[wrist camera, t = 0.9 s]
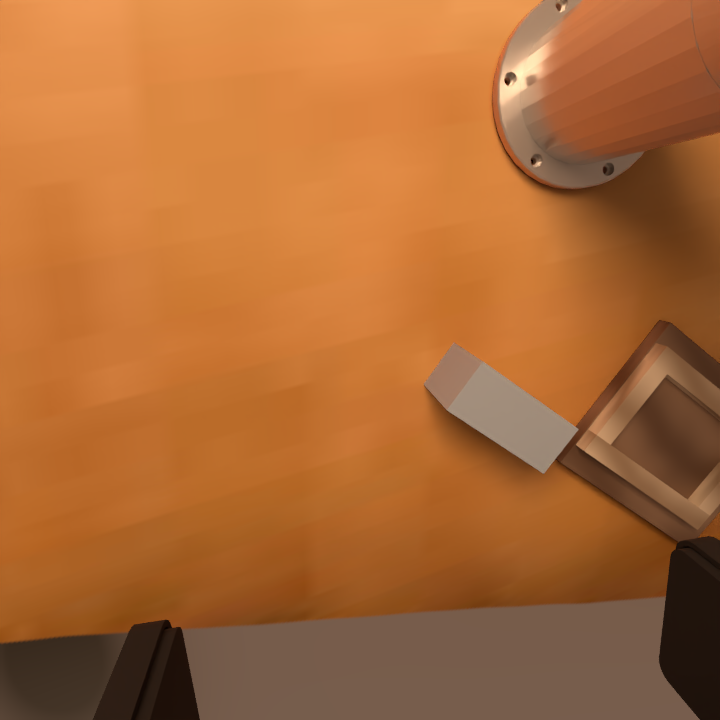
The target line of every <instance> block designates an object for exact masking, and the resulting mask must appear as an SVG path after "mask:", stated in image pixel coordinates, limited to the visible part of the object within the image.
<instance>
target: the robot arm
mask: <svg viewBox="0 0 720 720" xmlns="http://www.w3.org/2000/svg"><path fill="white" fill-rule="evenodd" d="M556 7H557V8H556ZM557 9H558V10H557ZM504 79H505V80H507V82H508V85H506V84H505V82H504ZM492 97H493V112H494V118H495V122H496V127H497V131H498V134H499V136H500V139H501V141H502V143H503V145H504V148H505V150H506V151H507V153H508V154H509V155H510V157H511V158H512V160H513V161H514V163H515V164H516V165H517V166H518V167H519V168H520V169H521V170H523V171H524V172H525V173H526V174H527V175H528V176H530V177H532V178H533V179H535V180H536V181H538V182H540V183H542V184H545V185H548V186H551V187H554V188H561V189H580V188H587V187H592V186H596V185H600V184H603V183H605V182H608V181H610V180H612V179H614V178H616V177H617V176H619V175H620V174H622V173H623V172H625V171H626V170H628V169H629V168H630V167H631V166H632V165H633V164H634V163H635V162H636V161H637V160H638V159H639V158H640V157H641V156H642V155H643V153H644V152H645V151H646V150H650V149H654V148H659V147H663V146H667V145H671V144H675V143H679V142H683V141H688V140H692V139H696V138H700V137H704V136H708V135H712V134H716V133H720V0H543V1H542V2H541V3H539V4H538V5H537V6H536V7H535V8H533V9H532V10H531V11H530V12H529V13H528V14H527V15H526V16H525V17H524V18H523V19H522V20H521V21H520V22H519V23H518V25H517V26H516V28H515V29H514V31H513V32H512V34H511V35H510V37H509V38H508V40H507V42H506V44H505V46H504V48H503V51H502V53H501V55H500V57H499V61H498V65H497V68H496V72H495V76H494V85H493V95H492ZM531 159H532V160H533V165H532V164H531ZM659 663H660V667H661V670H662V672H663V674H664V676H665V678H666V679H667V681H668V682H669V683H670V684H671V686H672V687H673V688H674V689H675V690H676V692H677V693H678V694H679V695H680V696H681V698H682V699H683V700H684V701H685V702H686V703H687V705H688V706H689V707H690V708H691V710H692V711H693V712H694V713H695V714H696V716H697V717H698V718H699V719H700V720H720V540H718V539H716V538H714V537H709V536H708V537H701V538H695V539H688V540H683V541H680V542H679V543H678V544H677V546H676V550H674V551H673V552H672V553H671V557H670V566H669V575H668V584H667V593H666V601H665V611H664V620H663V628H662V637H661V646H660V655H659ZM93 720H200V719H199V714H198V708H197V703H196V698H195V693H194V688H193V683H192V678H191V673H190V669H189V663H188V658H187V653H186V648H185V643H184V638H183V633H182V629H181V628H180V627H176V628H172V627H171V624H170V622H169V620H161V621H155V622H148V623H142V624H135V625H133V626H132V627H131V629H130V631H129V633H128V636H127V638H126V640H125V643H124V645H123V648H122V650H121V653H120V655H119V657H118V660H117V662H116V665H115V667H114V670H113V672H112V674H111V677H110V679H109V682H108V684H107V687H106V689H105V692H104V694H103V696H102V699H101V701H100V704H99V706H98V708H97V711H96V713H95V716H94V718H93Z"/></svg>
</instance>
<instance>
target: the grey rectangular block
mask: <svg viewBox="0 0 720 720" xmlns="http://www.w3.org/2000/svg"><path fill="white" fill-rule="evenodd" d="M424 385H425V387H426V388H427V389H428V390H429V391H430V392H431V393H432V394H433V395H434V397H435V398H436V399H437V400H438V401H439V402H440V403H441V404H442V405H443V407H444V408H445V409H446V410H447V411H449V412H450V413H452V414H453V415H455V416H456V417H458V418H459V419H461V420H462V421H464V422H465V423H467V424H468V425H470V426H471V427H473V428H475V429H476V430H478V431H479V432H481V433H482V434H484V435H485V436H487V437H488V438H490V439H491V440H493V441H494V442H496V443H497V444H499V445H500V446H502V447H503V448H505V449H507V450H508V451H510V452H511V453H513V454H514V455H516V456H517V457H519V458H520V459H522V460H523V461H525V462H526V463H528V464H529V465H531V466H532V467H534V468H535V469H537V470H538V471H540V472H542V473H543V474H544V473H545V472H546V470H547V469H548V468H549V467H550V465H551V464H552V463H553V461H554V460H555V459H556V458H557V456H558V455H559V454H560V453H561V451H562V450H563V449H564V447H565V446H566V445H567V444H568V442H569V441H570V440H571V439H572V437H573V436H574V435H575V433H576V432H577V431H578V430H579V429H578V428H576V427H575V426H573V425H572V424H571V423H569V422H568V421H566V420H565V419H564V418H562V417H561V416H559V415H558V414H557V413H555V412H554V411H552V410H551V409H549V408H548V407H547V406H545V405H544V404H542V403H541V402H540V401H538V400H537V399H535V398H534V397H532V396H531V395H530V394H528V393H527V392H525V391H524V390H523V389H521V388H520V387H518V386H517V385H515V384H514V383H513V382H511V381H510V380H508V379H507V378H506V377H504V376H503V375H501V374H500V373H499V372H497V371H496V370H494V369H493V368H491V367H490V366H489V365H487V364H486V363H484V362H483V361H481V360H480V359H478V358H477V357H475V356H474V355H472V354H471V353H469V352H468V351H466V350H465V349H463V348H461V347H460V346H458V345H457V344H455V343H453V345H452V346H451V347H450V349H449V350H448V351H447V353H446V354H445V356H444V357H443V358H442V360H441V361H440V362H439V364H438V365H437V367H436V368H435V369H434V371H433V372H432V374H431V375H430V376H429V378H428V379H427V380H426V382H425V383H424Z"/></svg>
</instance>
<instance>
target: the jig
mask: <svg viewBox="0 0 720 720" xmlns="http://www.w3.org/2000/svg"><path fill="white" fill-rule="evenodd" d="M576 428H578V429H579V430H578V431H577V432H576V433H575V435H574V436H573V437H572V439H571V440H570V441H569V442H568V444H567V445H566V446H565V447H564V449H563V450H562V451H561V453H560V454H559V455H558V456H557V458H556V459H557V460H558V461H559V462H560V463H562V464H563V465H565V466H566V467H568V468H569V469H571V470H572V471H574V472H575V473H577V474H578V475H580V476H581V477H583V478H584V479H586V480H587V481H589V482H590V483H592V484H593V485H595V486H596V487H598V488H599V489H601V490H602V491H604V492H605V493H606V494H608V495H609V496H611V497H612V498H614V499H615V500H617V501H618V502H620V503H621V504H623V505H624V506H626V507H627V508H629V509H630V510H632V511H633V512H635V513H636V514H638V515H639V516H641V517H642V518H644V519H645V520H647V521H648V522H650V523H651V524H653V525H654V526H656V527H657V528H658V529H660V530H661V531H663V532H664V533H666V534H667V535H669V536H670V537H672V538H673V539H675V540H676V541H678V542H680V541H683V540H688V539H695V538H698V536H699V535H700V534H701V533H702V532H703V531H704V529H705V528H706V527H707V526H708V525H709V524H710V522H711V521H712V520H713V519H714V518H715V517H716V515H717V514H718V513H719V512H720V364H719V363H718V362H717V361H716V360H714V359H713V358H712V357H711V356H710V355H709V354H707V353H706V352H705V351H704V350H703V349H701V348H700V347H699V346H698V345H697V344H695V343H694V342H693V341H692V340H691V339H690V338H688V337H687V336H686V335H685V334H684V333H682V332H681V331H680V330H679V329H678V328H676V327H675V326H674V325H673V324H672V323H670V322H666V321H661V320H659V322H658V323H657V324H656V325H655V327H654V328H653V329H652V330H651V332H650V333H649V334H648V336H647V337H646V338H645V339H644V341H643V342H642V343H641V344H640V346H639V347H638V348H637V350H636V351H635V352H634V353H633V355H632V356H631V357H630V358H629V360H628V361H627V362H626V364H625V365H624V366H623V367H622V369H621V370H620V371H619V372H618V374H617V375H616V376H615V378H614V379H613V380H612V381H611V383H610V384H609V385H608V387H607V388H606V389H605V390H604V392H603V393H602V394H601V395H600V397H599V398H598V399H597V401H596V402H595V403H594V404H593V406H592V407H591V408H590V409H589V411H588V412H587V413H586V415H585V416H584V417H583V418H582V420H581V421H580V422H579V423H578V425H577V426H576Z"/></svg>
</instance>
